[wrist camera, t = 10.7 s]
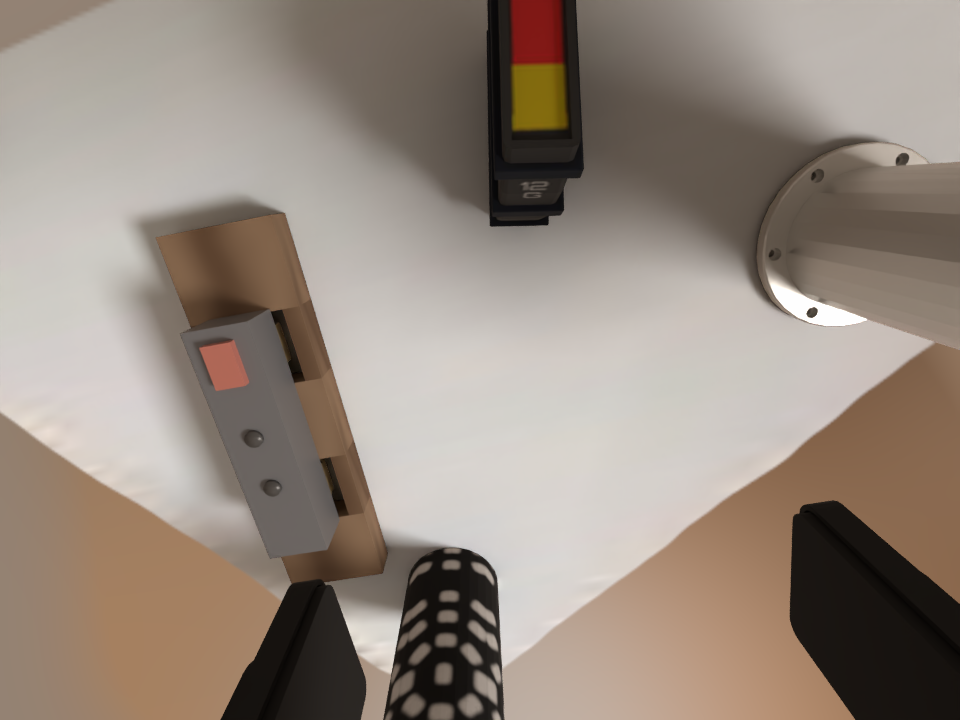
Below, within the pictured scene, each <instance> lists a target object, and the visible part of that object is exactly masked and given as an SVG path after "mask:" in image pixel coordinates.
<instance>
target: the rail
mask: <svg viewBox="0 0 960 720" xmlns="http://www.w3.org/2000/svg"><path fill="white" fill-rule="evenodd" d="M156 240H157V242H158V245H159V247H160V250H161V252H162V255H163V257H164V260H165V262H166V265H167V268H168V270H169V273H170V275H171V278H172V280H173V283H174V285H175V288H176V290H177V293H178V296H179V298H180V301H181V303H182V306H183V308H184V311H185V313H186V316H187V318H188V321H189V324H190V326H191V328H193V327H195V326H197V325H199V324H201V323H203V322H206V321H208V320H212V319H217V318H222V317H228V316H233V315H239V314H244V313H250V312H255V311H260V310H266V309H270V311H276V310H282V311H283V314H284V317H285V320H286V323H287V326H288V329H289V332H290V335H291V339H292V342H293V345H294V348H295V351H296V354H297V357H298V360H299V363H300V366H301V369H302V372H299V373H293V374H292V377H293V381H294V384H295V387H296V390H297V393H298V396H299V399H300V402H301V405H302V408H303V411H304V414H305V417H306V420H307V423H308V426H309V429H310V432H311V435H312V438H313V441H314V444H315V447H316V450H317V453H318V456H319V459H323V458H329V457H330V458H331V461H332V465H333V468H334V471H335V474H336V477H337V480H338V483H339V486H340V489H341V492H342V495H343V498H344V499H343V500H336V501H334V504H335V507H336V510H337V513H338V516H339V519H340V521H339V523H338V526H337V528H336V530H335V533H334V535H333V538H332V540H331V542H330V545H329V547H328V549H327V550H322V551H316V552H310V553H303V554H297V555H290V556H284V557H281V558H282V560H283V563H284V565H285V568H286V570H287V573H288V576H289V578H290V581H291V583H292V584H293V583H296V582H302V581H309V580H315V579H321V580H322V581H324V582H330V581H336V580H343V579H349V578H356V577H362V576H369V575H375V574H382V573H383V570H384V566H385V562H386V558H387V554H388V552H387V548H386V545H385V542H384V539H383V535H382V532H381V529H380V525H379V522H378V519H377V515H376V512H375V509H374V506H373V502H372V499H371V496H370V492H369V489H368V486H367V482H366V479H365V476H364V473H363V469H362V466H361V463H360V459H359V456H358V453H357V450H356V446H355V443H354V440H353V436H352V433H351V430H350V426H349V423H348V420H347V417H346V413H345V410H344V407H343V403H342V400H341V397H340V393H339V390H338V387H337V384H336V380H335V377H334V374H333V370H332V367H331V364H330V360H329V357H328V354H327V351H326V347H325V344H324V341H323V337H322V334H321V331H320V328H319V324H318V321H317V318H316V314H315V311H314V308H313V304H312V301H311V298H310V295H309V291H308V288H307V285H306V281H305V278H304V275H303V271H302V268H301V265H300V262H299V258H298V255H297V252H296V248H295V245H294V242H293V239H292V235H291V232H290V229H289V225H288V222H287V219H286V215H285V213H281V214H273V215H267V216H262V217H257V218H252V219H247V220H241V221H236V222H231V223H226V224H221V225H216V226H211V227H206V228H201V229H196V230H191V231H186V232H181V233H176V234H171V235H166V236H161V237H156Z"/></svg>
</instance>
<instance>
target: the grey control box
mask: <svg viewBox="0 0 960 720" xmlns="http://www.w3.org/2000/svg"><path fill="white" fill-rule="evenodd" d="M180 335H181V338H182V340H183V343H184V345H185V348H186V350H187V353H188V355H189V358H190V360H191V363H192V365H193V368H194V370H195V373H196V375H197V378H198V380H199V383H200V385H201V388H202V390H203V393H204V395H205V398H206V400H207V403H208V405H209V408H210V410H211V413H212V415H213V418H214V420H215V423H216V425H217V428H218V430H219V433H220V435H221V438H222V440H223V443H224V445H225V448H226V450H227V453H228V455H229V458H230V460H231V463H232V465H233V468H234V470H235V473H236V475H237V478H238V480H239V483H240V485H241V488H242V490H243V493H244V495H245V498H246V500H247V503H248V505H249V508H250V510H251V512H252V515H253V517H254V520H255V522H256V525H257V527H258V530H259V532H260V535H261V537H262V540H263V542H264V545H265V547H266V550H267V552H268V555H269V557H270V559H271V558H277V557H284V556H290V555H297V554H303V553H310V552H316V551H322V550H327V549H328V547H329V545H330V542H331V540H332V538H333V535H334V533H335V530H336V528H337V526H338V523H339V521H340V519H339V516H338V513H337V510H336V507H335V504H334V501H333V498H332V492H333V490H334V486H333V483H332V480H331V477H330V473H329V470H328V467H327V464H326V461H325V458H324V459H319V456H318V453H317V450H316V447H315V444H314V441H313V438H312V435H311V432H310V429H309V426H308V423H307V420H306V417H305V414H304V411H303V408H302V405H301V402H300V399H299V396H298V393H297V390H296V387H295V384H294V381H293V377H292V374H291V371H290V368H289V365H288V362H289V361H290V360H291V359H292V358H291V355H290V352H289V348H288V345H287V342H286V339H285V336H284V333H283V330H282V327H281V324H280V322H277V323H274V320H273V317H272V314H271V311H270V309H266V310H260V311H255V312H250V313H244V314H239V315H233V316H228V317H222V318H217V319H212V320H208V321H206V322H203V323H201V324H199V325H197V326H195V327H193V328H191V329H189V330H187V331H185V332H183V333H181V334H180Z"/></svg>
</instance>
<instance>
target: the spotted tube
mask: <svg viewBox="0 0 960 720" xmlns="http://www.w3.org/2000/svg"><path fill="white" fill-rule="evenodd" d="M383 720H505V719H504V701H503V680H502V659H501V640H500V620H499V600H498V583H497V576H496V574H495V571H494V569H493V568H492V566H491V565H490V564H489V563H488V562H487V561H486V560H485V559H484V558H483V557H481V556H480V555H478V554H476V553H474V552H471V551H468V550H464V549H458V548H446V549H440V550H436V551H433V552H431V553H429V554H427V555H425V556H424V557H422V558H421V559H420V560H419V561H418V562H417V563H416V564H415V565H414V567H413V568H412V570H411V572H410V575H409V579H408V585H407V590H406V596H405V601H404V607H403V613H402V618H401V624H400V629H399V635H398V641H397V646H396V652H395V657H394V663H393V668H392V674H391V680H390V685H389V691H388V696H387V702H386V708H385V714H384V719H383Z"/></svg>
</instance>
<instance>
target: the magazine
mask: <svg viewBox="0 0 960 720" xmlns="http://www.w3.org/2000/svg"><path fill="white" fill-rule="evenodd" d="M487 83H488V144H489V205H490V226H491V227H493V226H537V225H548V224H549V216H558V215H561V214H562V212H563V211H564V191H563V188H564V186H565V183H566V180H567V178H580V177H581V174H582V172H583V169H584V163H583V141H582V120H581V99H580V77H579V56H578V34H577V13H576V0H488V30H487Z"/></svg>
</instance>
